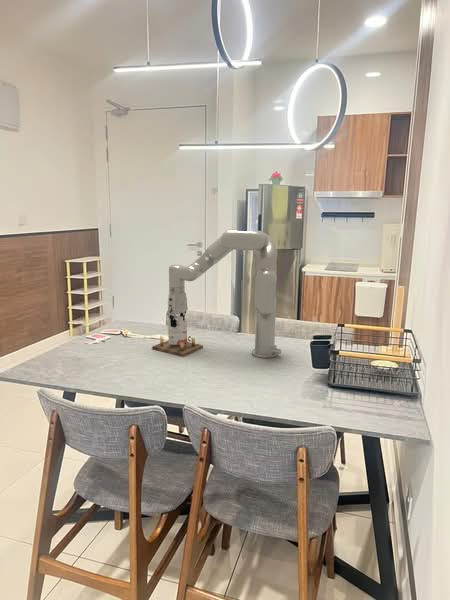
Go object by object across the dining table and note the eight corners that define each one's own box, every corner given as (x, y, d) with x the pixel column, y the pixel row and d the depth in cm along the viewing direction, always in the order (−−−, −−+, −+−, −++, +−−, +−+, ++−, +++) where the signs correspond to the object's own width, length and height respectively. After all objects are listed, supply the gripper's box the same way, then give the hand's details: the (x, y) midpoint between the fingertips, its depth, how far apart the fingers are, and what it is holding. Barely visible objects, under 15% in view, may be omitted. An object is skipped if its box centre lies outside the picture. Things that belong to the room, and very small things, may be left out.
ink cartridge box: (187, 342, 216) (187, 314, 213) (184, 345, 211) (183, 316, 208) (172, 341, 218) (171, 313, 215) (168, 344, 214) (167, 315, 211)
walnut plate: (203, 348, 216) (203, 345, 216) (183, 356, 203) (183, 353, 203) (172, 341, 227) (172, 338, 227) (152, 349, 214) (152, 346, 214)
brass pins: (195, 345, 215) (195, 338, 215) (182, 351, 207) (182, 343, 206) (173, 340, 223) (173, 333, 222) (159, 346, 215) (159, 338, 214)
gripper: (171, 293, 200) (172, 330, 204) (193, 288, 214) (194, 322, 218) (159, 292, 204) (160, 328, 208) (182, 286, 218) (182, 320, 222)
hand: (177, 325), depth 213 cm, fingers closed on ink cartridge box, 5 cm apart
